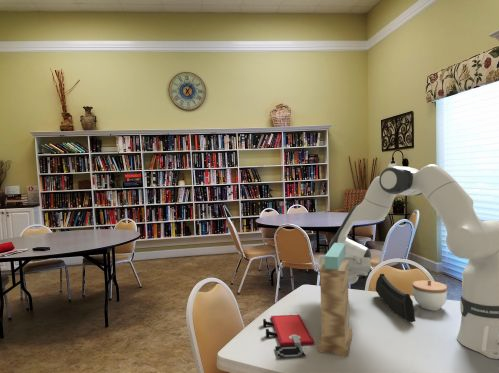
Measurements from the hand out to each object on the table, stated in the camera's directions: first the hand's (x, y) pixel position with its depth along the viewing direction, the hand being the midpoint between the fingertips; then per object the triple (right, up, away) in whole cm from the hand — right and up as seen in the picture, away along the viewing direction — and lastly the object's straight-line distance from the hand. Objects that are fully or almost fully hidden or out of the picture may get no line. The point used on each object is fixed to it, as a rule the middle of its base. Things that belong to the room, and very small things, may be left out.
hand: (341, 256), depth 127 cm
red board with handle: (-22, -26, -11) cm, 36 cm away
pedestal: (-7, -25, -18) cm, 31 cm away
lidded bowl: (+39, -23, +9) cm, 46 cm away
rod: (-6, +2, -14) cm, 15 cm away
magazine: (+24, -23, +9) cm, 34 cm away
